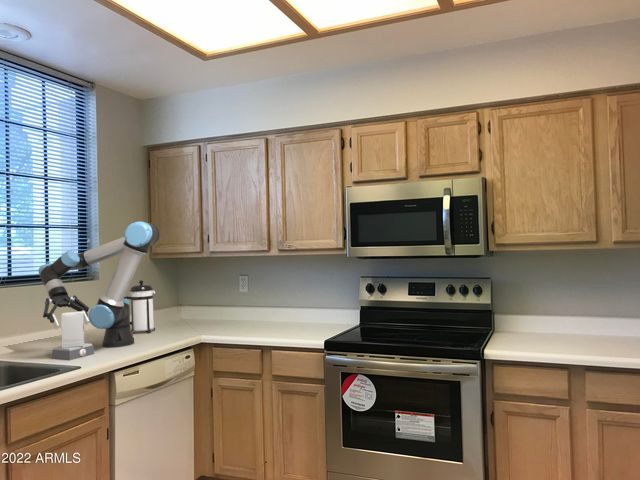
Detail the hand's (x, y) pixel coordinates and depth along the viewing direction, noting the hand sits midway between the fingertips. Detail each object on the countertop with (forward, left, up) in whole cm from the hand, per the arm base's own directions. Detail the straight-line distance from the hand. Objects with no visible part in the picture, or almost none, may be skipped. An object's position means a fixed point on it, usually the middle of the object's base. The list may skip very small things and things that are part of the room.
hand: (72, 325), depth 233 cm
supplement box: (-1, -1, -10) cm, 10 cm away
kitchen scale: (0, -1, -14) cm, 14 cm away
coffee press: (-60, -18, -14) cm, 65 cm away
